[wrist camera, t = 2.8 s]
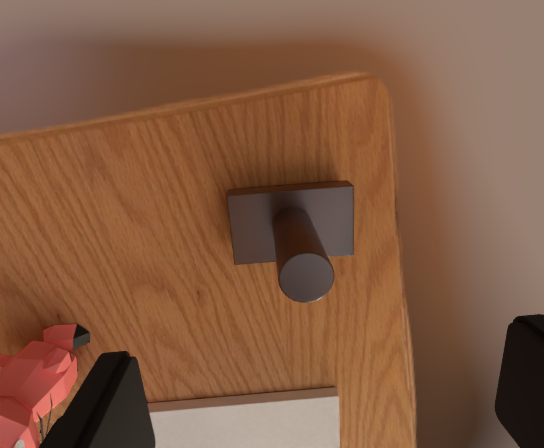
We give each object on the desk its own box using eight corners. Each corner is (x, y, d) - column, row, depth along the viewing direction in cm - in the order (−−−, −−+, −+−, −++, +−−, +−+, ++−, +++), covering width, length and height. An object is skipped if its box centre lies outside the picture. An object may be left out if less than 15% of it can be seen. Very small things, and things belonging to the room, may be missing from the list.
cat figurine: (87, 396, 28) (-28, 591, 17) (-1, 365, 27) (-188, 554, 16) (117, 327, 26) (10, 495, 15) (24, 291, 25) (-169, 445, 14)
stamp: (343, 176, 23) (396, 221, 14) (344, 240, 25) (392, 316, 16) (229, 185, 23) (211, 236, 14) (236, 248, 25) (224, 330, 16)
